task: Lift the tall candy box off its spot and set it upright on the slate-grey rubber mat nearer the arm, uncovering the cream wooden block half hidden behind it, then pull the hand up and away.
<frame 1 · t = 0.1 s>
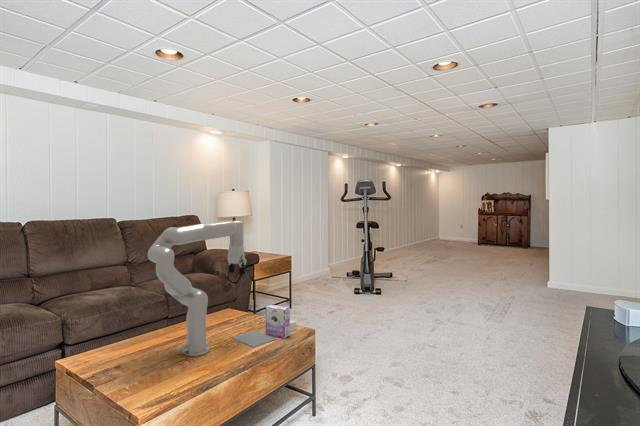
hand: (236, 273, 200), 37 cm above the table, tool pointing down, fingers open, 9 cm apart
cream block: (290, 329, 216), on the table
grey mat: (254, 338, 200), on the table
candy box: (277, 335, 206), on the table
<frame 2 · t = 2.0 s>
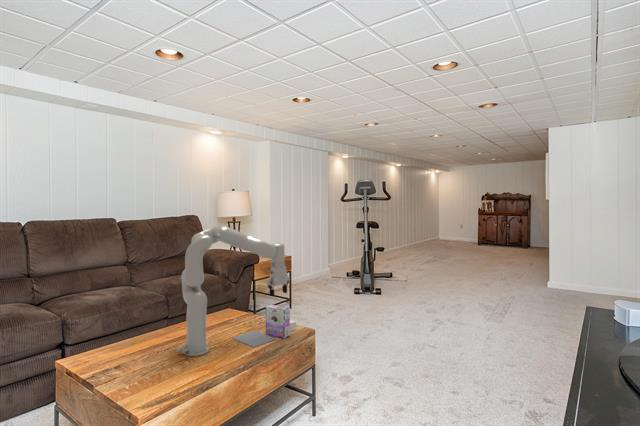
hand: (278, 294, 206), 24 cm above the table, tool pointing down, fingers open, 9 cm apart
nothing on the table moved.
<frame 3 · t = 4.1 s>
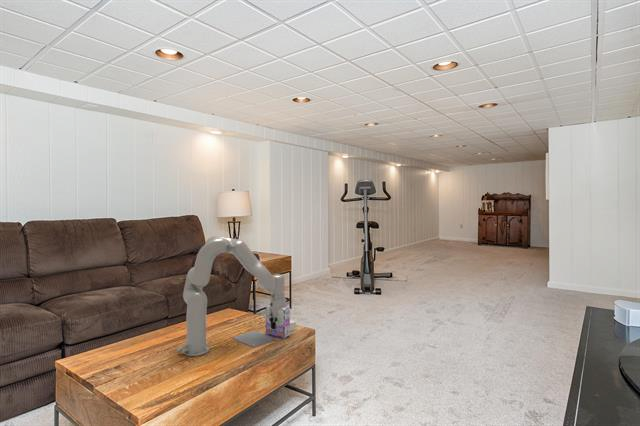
hand: (277, 326, 206), 5 cm above the table, tool pointing down, fingers closed on candy box, 6 cm apart
candy box: (277, 335, 207), on the table, touching gripper
everything else where it was.
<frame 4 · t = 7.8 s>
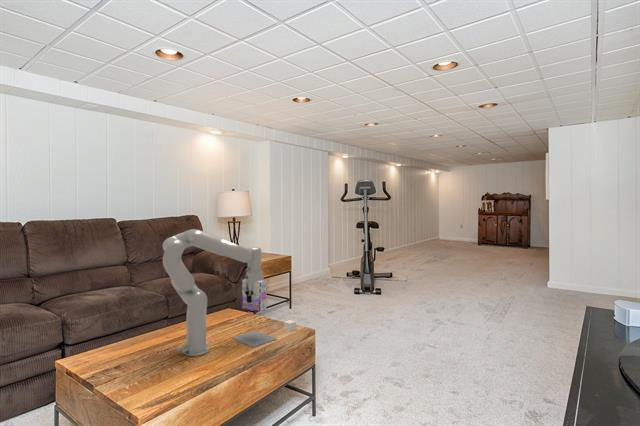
hand: (254, 301, 200), 21 cm above the table, tool pointing down, fingers closed on candy box, 6 cm apart
candy box: (254, 309, 200), point 16 cm above the table, touching gripper
everything else where it was.
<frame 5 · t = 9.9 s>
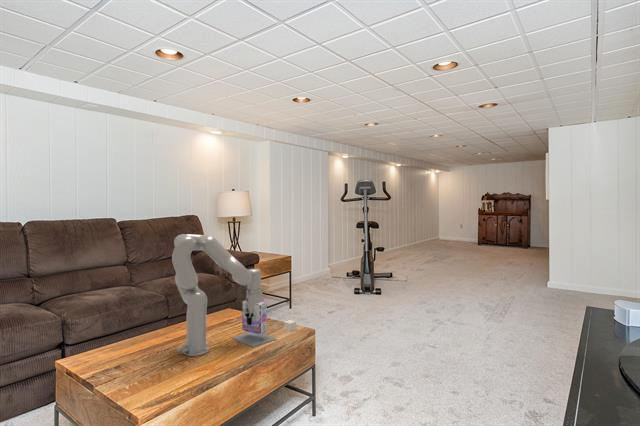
hand: (254, 322, 200), 9 cm above the table, tool pointing down, fingers closed on candy box, 6 cm apart
candy box: (254, 331, 200), point 4 cm above the table, touching gripper
everything else where it was.
when the fingers open (6 cm above the table, at t = 11.4 s): candy box drops 1 cm, resting on grey mat.
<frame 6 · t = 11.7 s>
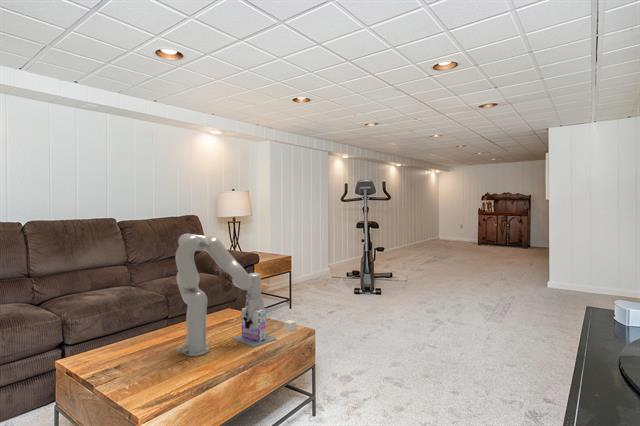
hand: (254, 326, 200), 7 cm above the table, tool pointing down, fingers open, 9 cm apart
candy box: (253, 338, 200), resting on grey mat
everything else where it was.
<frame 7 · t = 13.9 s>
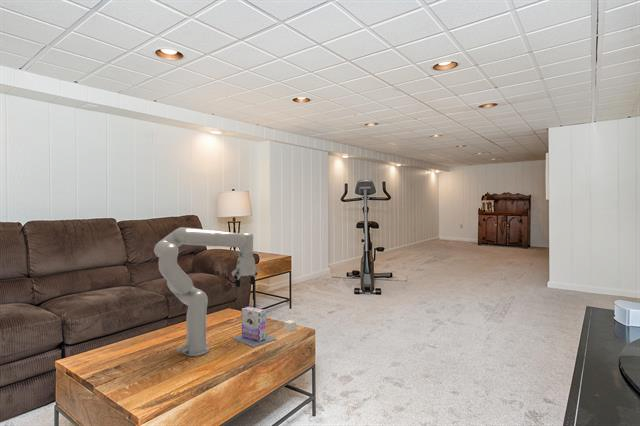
hand: (245, 285, 201), 30 cm above the table, tool pointing down, fingers open, 9 cm apart
nothing on the table moved.
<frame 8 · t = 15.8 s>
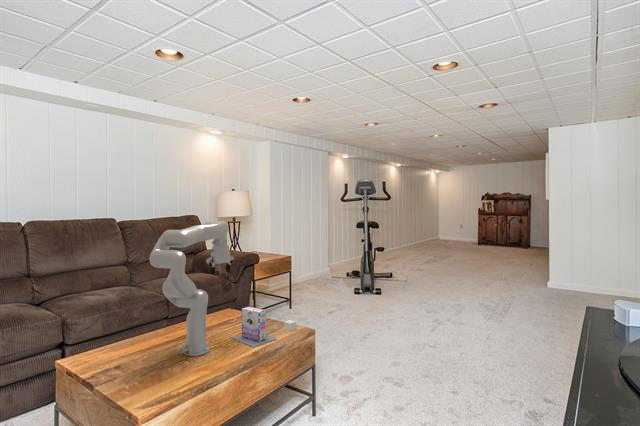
hand: (220, 273, 203), 36 cm above the table, tool pointing down, fingers open, 9 cm apart
nothing on the table moved.
at the end: candy box inside the target area on the grey mat (0.3 cm from its centre), point 0.2 cm above the grey mat's base; candy box tilted 0°; cream block moved 0.1 cm from its start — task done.
